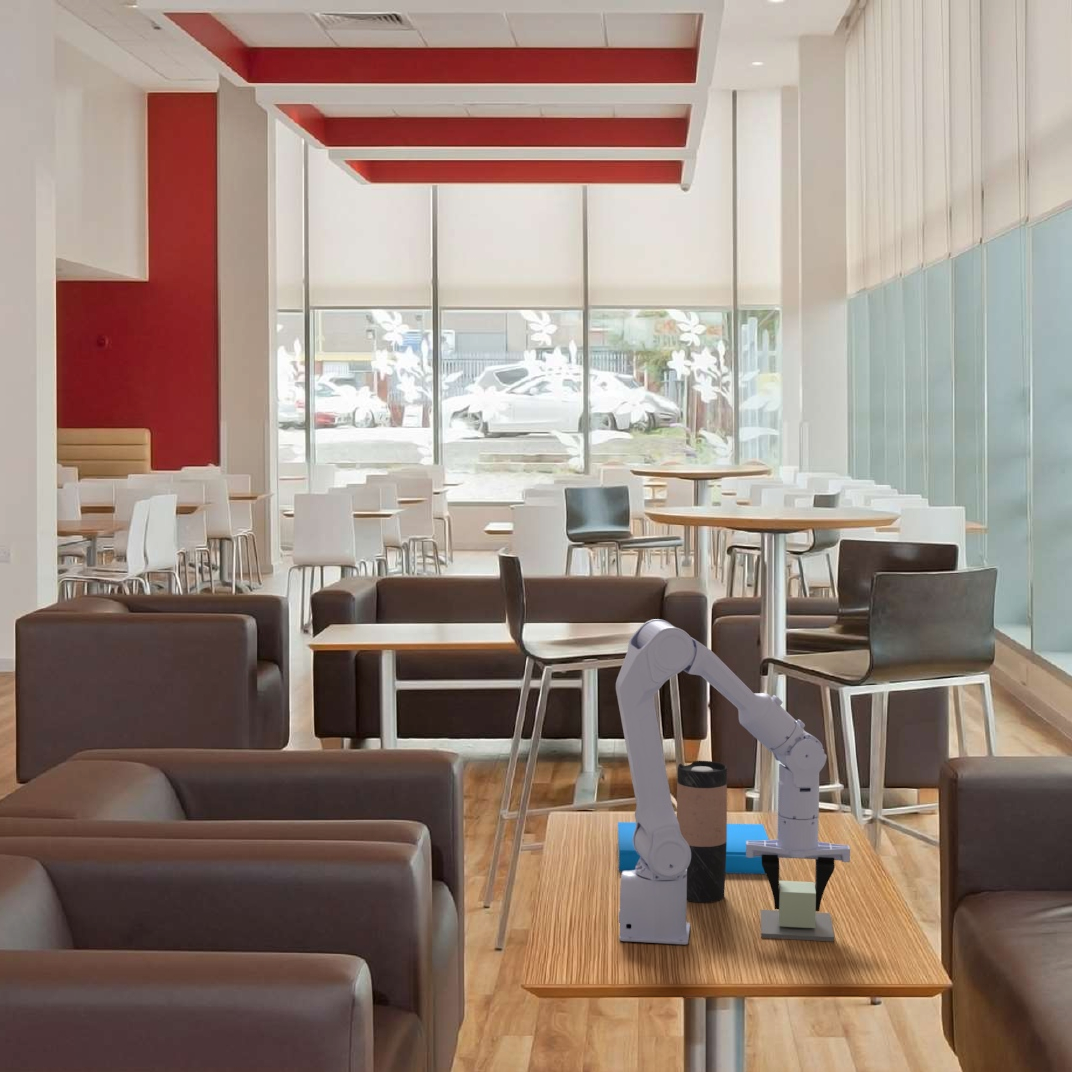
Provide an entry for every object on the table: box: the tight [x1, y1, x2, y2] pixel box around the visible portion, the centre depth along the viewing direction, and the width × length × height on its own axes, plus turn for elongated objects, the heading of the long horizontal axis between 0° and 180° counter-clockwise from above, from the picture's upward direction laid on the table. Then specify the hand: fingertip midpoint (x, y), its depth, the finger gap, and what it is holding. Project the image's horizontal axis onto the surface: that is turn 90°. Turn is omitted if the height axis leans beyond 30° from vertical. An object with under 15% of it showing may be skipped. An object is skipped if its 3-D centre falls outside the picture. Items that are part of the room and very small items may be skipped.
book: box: [617, 821, 770, 875], centre depth 237 cm, size 17×4×25 cm
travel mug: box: [676, 760, 728, 904], centre depth 217 cm, size 8×8×20 cm
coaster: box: [760, 909, 835, 942], centre depth 204 cm, size 10×10×1 cm
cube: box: [778, 879, 817, 928], centre depth 203 cm, size 5×5×5 cm
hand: (796, 908), depth 204 cm, fingers closed on cube, 5 cm apart
